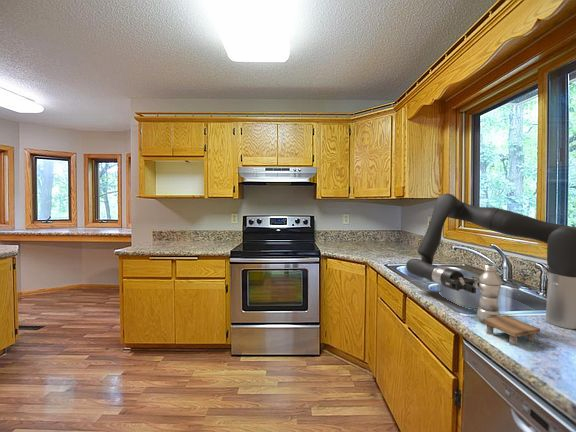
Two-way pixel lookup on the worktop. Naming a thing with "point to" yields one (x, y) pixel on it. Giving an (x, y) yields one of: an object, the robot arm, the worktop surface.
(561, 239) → the robot arm
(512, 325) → the pegged shelf
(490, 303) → the plastic bottle
